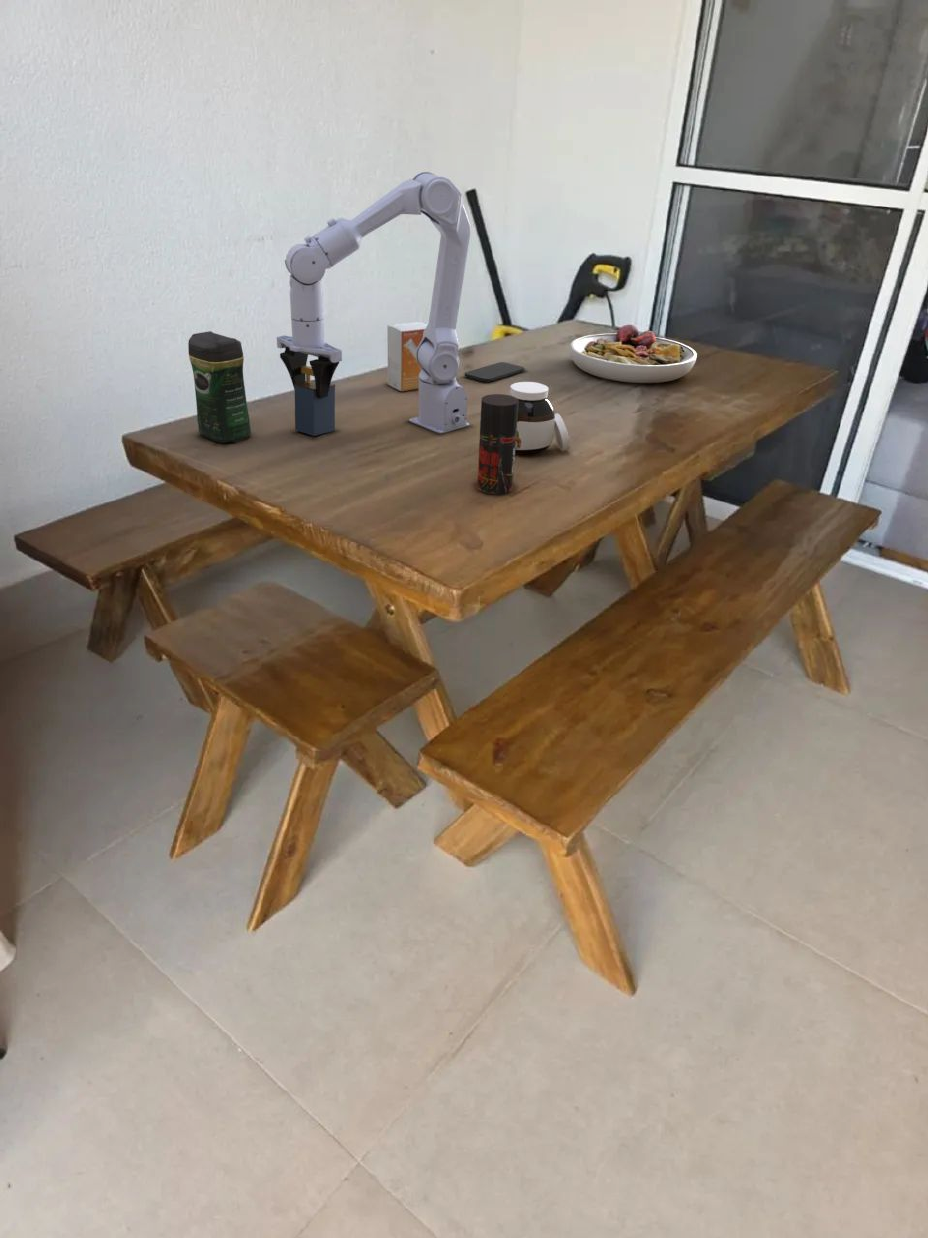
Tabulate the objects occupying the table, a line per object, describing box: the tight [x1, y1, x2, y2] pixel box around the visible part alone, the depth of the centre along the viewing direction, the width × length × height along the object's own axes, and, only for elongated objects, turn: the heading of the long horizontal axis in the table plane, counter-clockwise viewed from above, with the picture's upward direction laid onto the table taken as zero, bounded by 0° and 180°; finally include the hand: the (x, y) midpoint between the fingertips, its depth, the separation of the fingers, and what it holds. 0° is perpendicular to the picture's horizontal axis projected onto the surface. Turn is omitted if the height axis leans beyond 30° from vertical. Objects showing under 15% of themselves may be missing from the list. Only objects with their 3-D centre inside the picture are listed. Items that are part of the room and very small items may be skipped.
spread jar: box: [509, 381, 571, 457], centre depth 156 cm, size 12×11×12 cm
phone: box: [464, 361, 525, 383], centre depth 200 cm, size 7×1×15 cm
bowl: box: [569, 324, 698, 384], centre depth 206 cm, size 30×30×8 cm
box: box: [293, 365, 336, 437], centre depth 160 cm, size 12×6×6 cm
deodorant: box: [476, 393, 519, 496], centre depth 139 cm, size 6×6×15 cm
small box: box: [386, 321, 428, 392], centre depth 187 cm, size 8×6×13 cm
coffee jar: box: [187, 330, 252, 444], centre depth 154 cm, size 10×8×19 cm
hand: (310, 393), depth 159 cm, fingers closed on box, 5 cm apart
